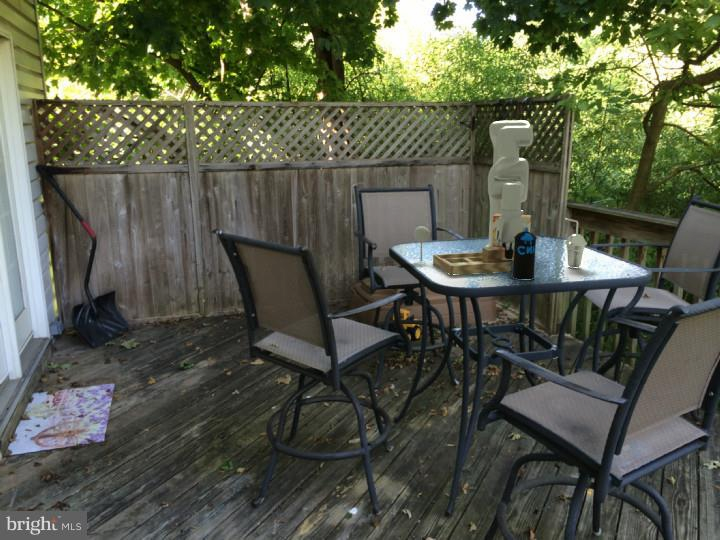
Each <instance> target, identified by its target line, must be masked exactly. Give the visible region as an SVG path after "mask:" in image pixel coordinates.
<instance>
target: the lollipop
mask: <svg viewBox="0 0 720 540" xmlns="http://www.w3.org/2000/svg"><path fill="white" fill-rule="evenodd" d="M430 233H431V232H430V230H429V228H428V227H426V226H422V225H420V226H417V227H416V228H415V229H414V231H413V238H414V240H415V241H416V242H417V243H420V261H423V243H425V242H427V241H428V239H429V238H430V235H431V234H430Z"/></svg>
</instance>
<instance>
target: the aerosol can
mask: <svg viewBox="0 0 720 540" xmlns="http://www.w3.org/2000/svg"><path fill="white" fill-rule="evenodd" d="M528 230H529V226H523V231H522V232H520V233H518V234H517V235H516V236H515V237H514V238H515V243H514V261H513V263H512V264H513V267H512V276H513V277H514V278H517V279H532V278H534V279H535V262H536V247H537V238H538V237H537V236H536V235H535V234H534V233H532V232H531V231H530V232H528Z"/></svg>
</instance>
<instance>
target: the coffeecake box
mask: <svg viewBox="0 0 720 540" xmlns="http://www.w3.org/2000/svg"><path fill="white" fill-rule="evenodd" d="M499 217H501V214H495V215H493V235H492V247H498V248H500V249H502V261H508V260H514V249H513V257H512V259H506V258H505V249H504V247H503V246H501V245H497V244H496V243H497V240H496V229H497V223H498V219H499ZM520 217H522V223H523V226H529V230H528V232H530V233H531V225H532V222H531V221H532V215H530V214H521V216H520ZM509 244H510V242H509Z"/></svg>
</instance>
